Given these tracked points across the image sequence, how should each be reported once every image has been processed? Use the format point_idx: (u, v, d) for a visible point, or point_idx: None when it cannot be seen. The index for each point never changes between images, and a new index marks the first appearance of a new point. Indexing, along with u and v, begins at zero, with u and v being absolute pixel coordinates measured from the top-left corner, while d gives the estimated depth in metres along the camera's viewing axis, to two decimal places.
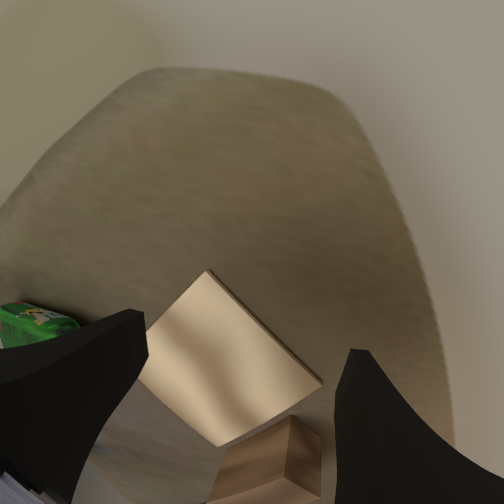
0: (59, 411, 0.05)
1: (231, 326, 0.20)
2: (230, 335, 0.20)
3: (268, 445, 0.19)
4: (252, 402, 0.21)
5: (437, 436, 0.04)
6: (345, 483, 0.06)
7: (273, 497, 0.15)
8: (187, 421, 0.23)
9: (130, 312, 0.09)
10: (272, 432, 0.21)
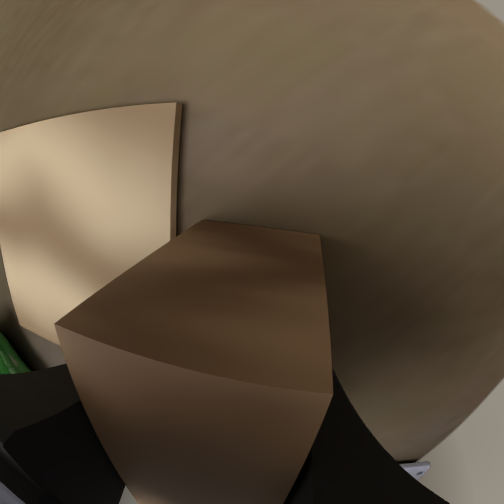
0: None
1: (28, 155, 0.10)
2: (33, 167, 0.10)
3: None
4: (120, 244, 0.10)
5: (373, 439, 0.04)
6: None
7: (170, 455, 0.04)
8: None
9: None
10: None
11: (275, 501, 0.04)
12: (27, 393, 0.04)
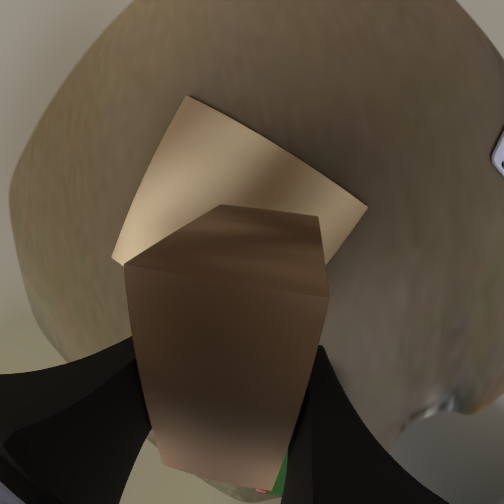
0: (105, 435, 0.05)
1: (147, 221, 0.18)
2: (157, 221, 0.18)
3: None
4: (242, 171, 0.16)
5: (373, 439, 0.04)
6: (288, 480, 0.06)
7: (205, 377, 0.06)
8: None
9: None
10: None
11: (288, 424, 0.06)
12: (28, 393, 0.04)
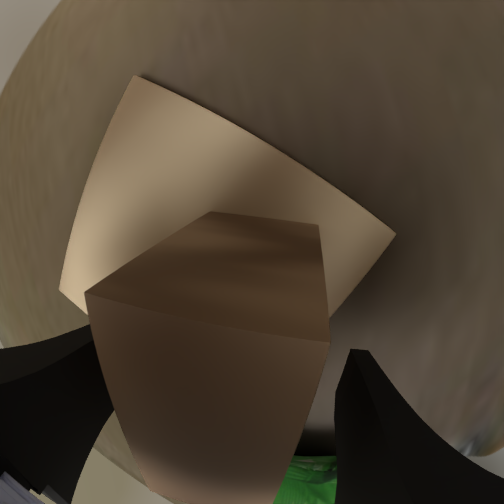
0: (59, 411, 0.05)
1: (91, 248, 0.13)
2: (102, 248, 0.12)
3: None
4: (209, 179, 0.11)
5: (437, 436, 0.04)
6: (345, 483, 0.06)
7: (184, 419, 0.05)
8: (330, 309, 0.11)
9: None
10: None
11: (280, 466, 0.05)
12: None
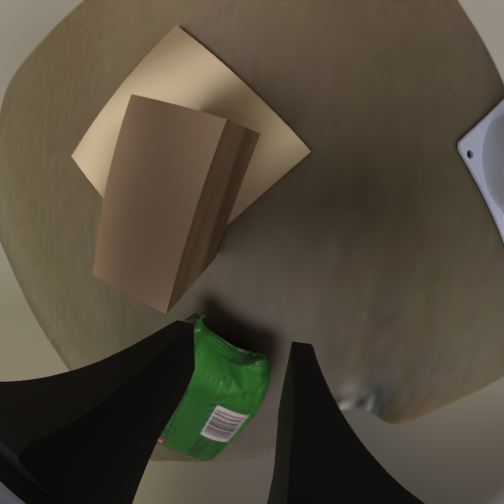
0: (118, 442, 0.05)
1: (110, 127, 0.17)
2: (118, 127, 0.17)
3: None
4: (202, 94, 0.15)
5: (356, 439, 0.04)
6: (274, 478, 0.06)
7: (149, 167, 0.10)
8: (256, 193, 0.17)
9: (181, 325, 0.09)
10: None
11: (189, 215, 0.10)
12: (39, 401, 0.04)
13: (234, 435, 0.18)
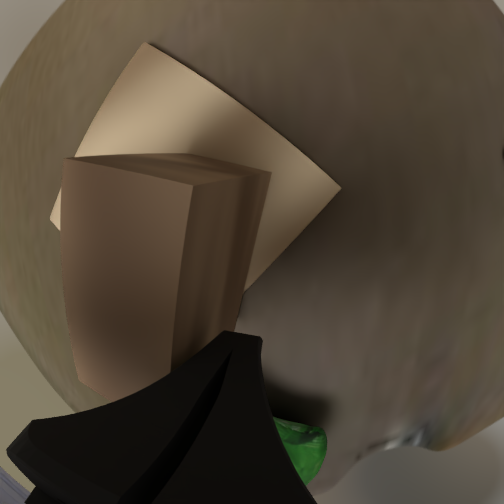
0: None
1: None
2: None
3: None
4: (189, 127, 0.12)
5: (272, 431, 0.05)
6: None
7: (102, 265, 0.07)
8: (278, 249, 0.13)
9: (230, 335, 0.09)
10: None
11: (166, 334, 0.07)
12: (107, 439, 0.04)
13: None
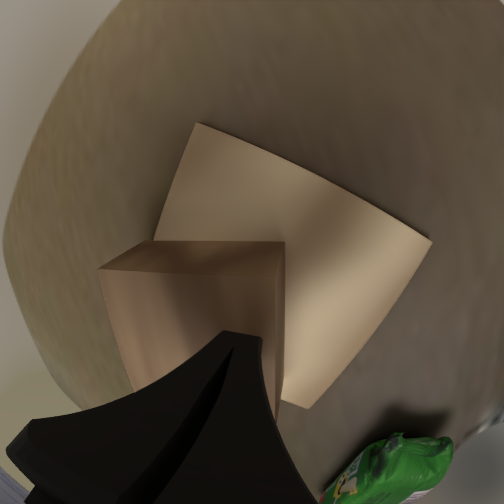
0: None
1: None
2: None
3: None
4: (282, 215, 0.13)
5: (273, 431, 0.05)
6: None
7: None
8: (386, 308, 0.13)
9: (230, 335, 0.09)
10: None
11: None
12: (106, 439, 0.04)
13: None
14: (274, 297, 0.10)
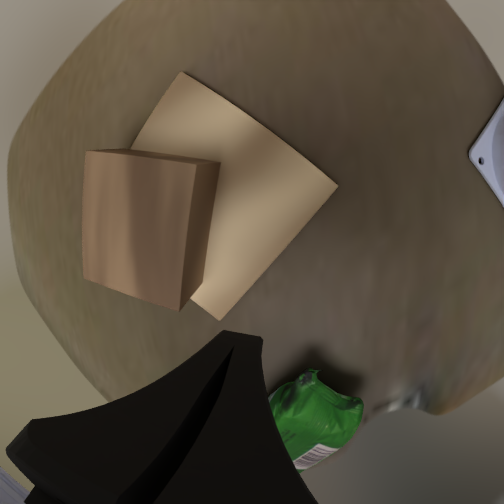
0: None
1: None
2: None
3: None
4: (222, 142, 0.16)
5: (272, 431, 0.05)
6: None
7: None
8: (292, 233, 0.17)
9: (230, 335, 0.09)
10: None
11: None
12: (106, 439, 0.04)
13: (316, 463, 0.19)
14: (194, 179, 0.13)
